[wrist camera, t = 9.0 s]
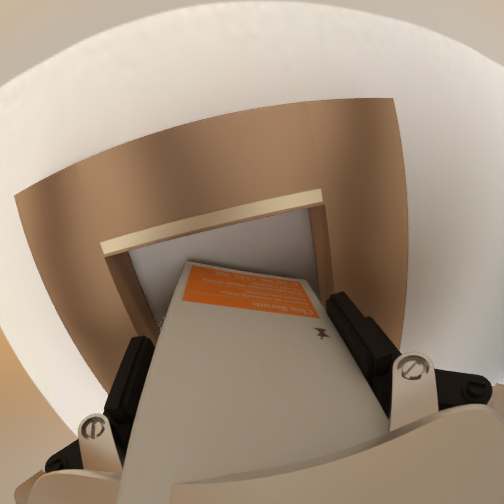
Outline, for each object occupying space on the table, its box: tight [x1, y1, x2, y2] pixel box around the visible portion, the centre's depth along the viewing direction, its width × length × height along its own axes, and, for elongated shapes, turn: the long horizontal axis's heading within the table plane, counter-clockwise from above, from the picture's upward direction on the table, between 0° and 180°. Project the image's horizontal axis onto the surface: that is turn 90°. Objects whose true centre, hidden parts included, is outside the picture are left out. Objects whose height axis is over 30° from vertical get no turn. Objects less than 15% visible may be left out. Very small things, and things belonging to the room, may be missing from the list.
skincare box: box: [116, 261, 388, 504], centre depth 8 cm, size 6×4×12 cm
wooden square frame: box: [14, 98, 408, 395], centre depth 13 cm, size 17×17×3 cm
